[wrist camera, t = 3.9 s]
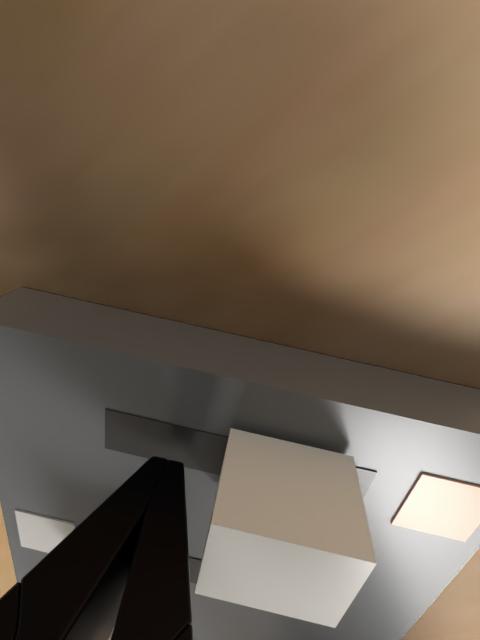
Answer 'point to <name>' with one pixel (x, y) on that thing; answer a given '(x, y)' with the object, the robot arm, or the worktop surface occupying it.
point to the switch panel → (211, 440)
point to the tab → (286, 530)
